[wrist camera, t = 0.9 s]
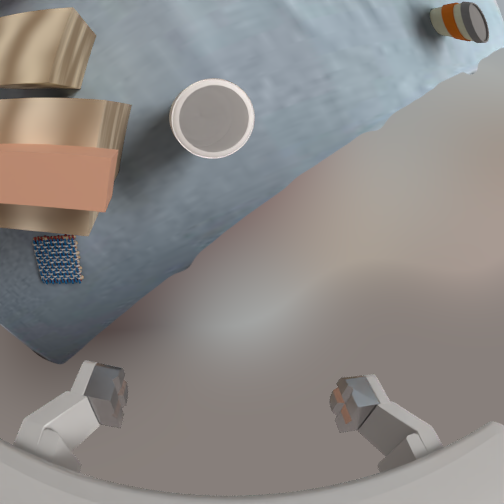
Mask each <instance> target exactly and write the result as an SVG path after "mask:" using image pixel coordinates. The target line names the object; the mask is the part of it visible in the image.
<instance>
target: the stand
mask: <svg viewBox="0 0 504 504" xmlns="http://www.w3.org/2000/svg"><path fill="white" fill-rule="evenodd" d="M131 106H132V105H129V104H124V103H119V102H113V101H107V100H95V99H78V98H17V99H1V100H0V144H51V145H69V146H83V147H95V148H106V149H116V150H119V151H118V157H117V163H116V170H115V177H114V180H115V178H116V177H117V175H118V173H119V167H120V161H121V155H122V149H123V144H124V138H125V133H126V128H127V123H128V119H129V114H130V110H131ZM98 213H99V212H97V211H87V210H76V209H65V208H54V207H42V206H30V205H17V204H3V203H0V228H10V229H20V230H30V231H41V232H51V233H61V234H71V235H81V236H89V234H90V232H91V229H92V227H93V225H94V222H95V220H96V218H97V216H98Z"/></svg>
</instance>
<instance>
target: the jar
mask: <svg viewBox="0 0 504 504" xmlns="http://www.w3.org/2000/svg"><path fill="white" fill-rule="evenodd" d="M254 120H255V115H254V109H253V105H252V103H251V101H250V99H249V97H248V96H247V94H246V93H245V92H244V91H243V90H242V89H241V88H240V87H239V86H237V85H236V84H234V83H232V82H229V81H227V80H223V79H205V80H201V81H198V82H196V83H194V84H192V85H190V86H189V87H187V88H186V89H184V90H183V91H182V92H181V93H179V95H178V96H177V97H176V98H175V100H174V101H173V103H172V106H171V109H170V113H169V122H170V127H171V130H172V132H173V134H174V136H175V137H176V139H177V140H178V141H179V142H180V144H181V145H182V146H183V147H184V148H185V149H187V150H188V151H189V152H191V153H193V154H195V155H197V156H200V157H204V158H221V157H225V156H228V155H230V154H232V153H234V152H236V151H237V150H239V149H240V148H241V147H242V146H243V145H244V144H245V143H246V142H247V140H248V139H249V137H250V135H251V133H252V130H253V127H254Z"/></svg>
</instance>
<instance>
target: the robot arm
mask: <svg viewBox="0 0 504 504" xmlns="http://www.w3.org/2000/svg"><path fill="white" fill-rule="evenodd" d="M124 377H125V373H124V369H123V368H119V367H114V366H110V365H105V364H101V363H96V362H92V361H88V360H85V361H84V362H83V363H82V365H81V368H80V370H79V372H78V374H77V377H76V379H75V381H74V384H73V386H72V388H71V391H70V392H69V391H66V392H64V393H63V394H61V395H60V396H58V397H57V398H55V399H53V400H52V401H50V402H49V403H47V404H46V405H44V406H43V407H41V408H40V409H38V410H37V411H35V412H33V413H32V414H30V415H29V416H27V417H26V418H24V420H23V422H22V425H21V427H20V429H19V432H18V434H17V437H16V439H15V442H14V445H12V444H10V443H8V442H6V441H4V440H2V439H1V438H0V504H504V426H503V425H502V424H500V423H497V422H495V421H493V422H489V423H487V424H486V425H484V426H482V427H481V428H479V429H477V430H476V431H474V432H472V433H470V434H469V435H467V436H465V437H463V438H461V439H459V440H458V441H456V442H454V443H452V444H450V445H448V446H446V447H443V445H442V443H441V441H440V440H439V438H438V436H437V434H436V432H435V431H434V429H433V427H432V426H431V425H429V424H427V423H426V422H424V421H423V420H421V419H420V418H418V417H416V416H415V415H413V414H412V413H410V412H408V411H407V410H405V409H404V408H402V407H401V406H399V405H398V404H396V403H395V402H390V400H389V399H388V397H387V395H386V393H385V391H384V390H383V388H382V386H381V384H380V382H379V381H378V379H377V377H376V376H375V375H374V374H372V375H363V376H353V377H344V378H341V379H339V381H338V382H337V386H338V388H336V389H335V390H333V392H332V394H331V396H330V407H331V410H332V412H333V413H334V414H335V415H337V417H336V419H335V422H336V424H337V427H338V430H339V432H340V433H341V432H348V431H355V430H358V432H359V433H360V434H361V435H362V436H364V437H365V438H366V439H367V440H368V441H369V442H370V443H371V444H372V445H374V446H375V447H376V448H377V449H378V450H379V451H380V452H381V453H382V454H384V455H385V456H386V457H385V458H384V459H383V460H382V461H381V462H379V464H378V468H379V471H380V473H378V474H374V475H371V476H367V477H364V478H360V479H356V480H352V481H348V482H344V483H340V484H335V485H331V486H326V487H321V488H315V489H309V490H303V491H296V492H288V493H278V494H267V495H249V496H208V495H191V494H180V493H170V492H162V491H155V490H149V489H143V488H138V487H133V486H127V485H123V484H118V483H114V482H110V481H106V480H102V479H98V478H95V477H92V476H88V475H85V474H82V473H80V469H81V463H80V461H79V460H78V459H77V458H76V457H75V455H74V454H73V453H72V451H73V450H74V449H75V448H76V447H77V446H79V445H80V443H82V442H83V441H84V440H85V439H86V438H87V437H88V436H89V435H90V434H91V433H92V432H93V431H94V430H95V429H96V428H98V426H99V424H101V425H106V426H111V427H117V428H121V425H122V421H123V416H124V413H123V410H122V408H123V407H124V406H126V403H127V399H128V386H127V382H126V381H125V380H124Z"/></svg>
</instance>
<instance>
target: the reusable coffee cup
mask: <svg viewBox="0 0 504 504" xmlns="http://www.w3.org/2000/svg"><path fill="white" fill-rule="evenodd" d="M430 19H431V23H432V25H433V27H434V29H435V30H436V31H437V32H438V33H439V34H440V35H444V36H450V37H454V38H455V39H460V40H465V41H474V42H476V43H486V42H487V41H488V39H489V30H488V25H487V22H486V19H485V17H484V15H483V13H482V11H481V10H480V8H479V7H478V6H477V5H476V4H475V3H471V2H462V3H460V4H459V3H452V4H447V5H443V6H442V7H439V8H434V9H432V10H431V11H430Z"/></svg>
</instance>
